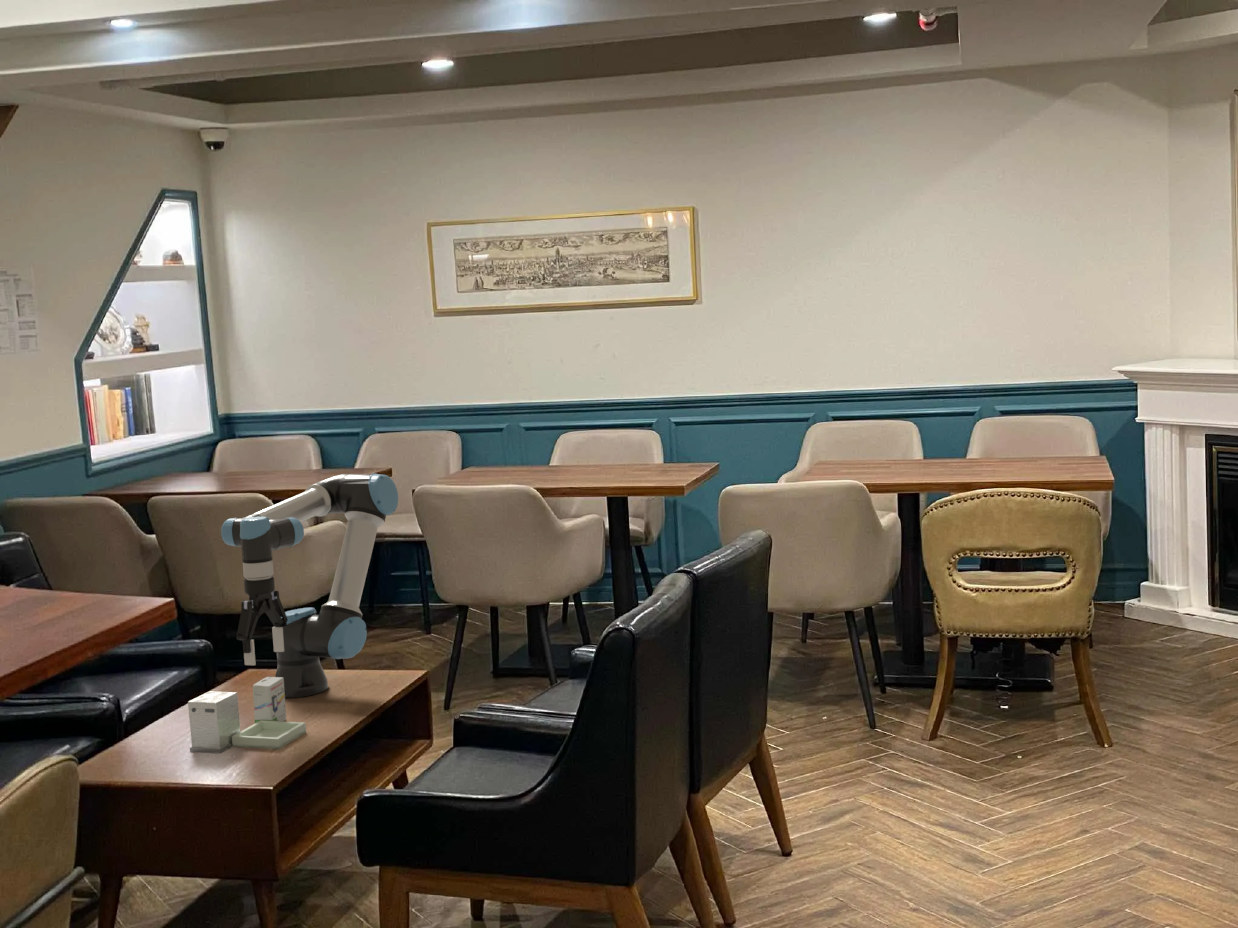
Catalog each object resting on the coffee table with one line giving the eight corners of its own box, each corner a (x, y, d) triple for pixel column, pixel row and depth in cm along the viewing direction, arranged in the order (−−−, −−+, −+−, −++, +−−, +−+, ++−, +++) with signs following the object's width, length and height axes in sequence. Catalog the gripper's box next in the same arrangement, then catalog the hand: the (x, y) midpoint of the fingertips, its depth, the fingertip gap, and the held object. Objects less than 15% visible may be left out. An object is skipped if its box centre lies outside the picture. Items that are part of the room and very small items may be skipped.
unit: (213, 738, 333) (209, 690, 332) (243, 739, 330) (239, 691, 329) (190, 751, 324) (185, 702, 322) (220, 753, 321) (215, 703, 320)
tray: (261, 729, 338) (260, 720, 338) (306, 732, 334) (305, 722, 334) (232, 746, 326) (231, 736, 325) (278, 749, 322) (277, 738, 321)
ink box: (269, 719, 347) (265, 675, 346) (287, 719, 346) (284, 676, 345) (254, 729, 339) (250, 685, 337) (272, 730, 338) (269, 685, 336)
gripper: (272, 567, 351) (278, 645, 353) (217, 586, 327) (224, 670, 329) (297, 568, 348) (302, 646, 351) (244, 587, 325) (250, 671, 327)
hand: (264, 658), depth 340 cm, fingers open, 13 cm apart
